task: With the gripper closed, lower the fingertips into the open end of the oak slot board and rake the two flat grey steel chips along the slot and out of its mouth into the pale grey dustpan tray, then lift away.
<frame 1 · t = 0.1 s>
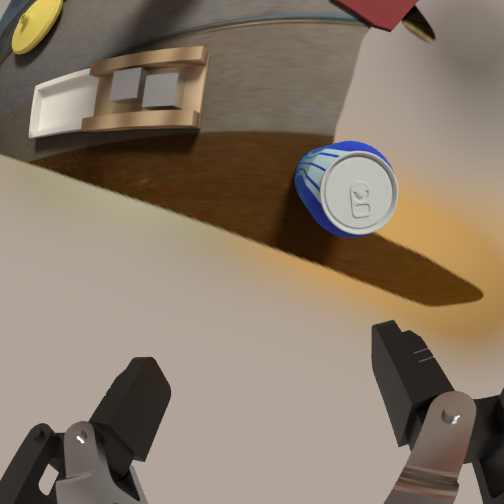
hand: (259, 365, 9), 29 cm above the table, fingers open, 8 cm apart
vase: (43, 25, 26), on the table
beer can: (324, 179, 35), on the table
tray: (67, 105, 33), on the table
slot board: (147, 93, 32), on the table
chip 2: (168, 94, 31), point 1 cm above the table, touching slot board
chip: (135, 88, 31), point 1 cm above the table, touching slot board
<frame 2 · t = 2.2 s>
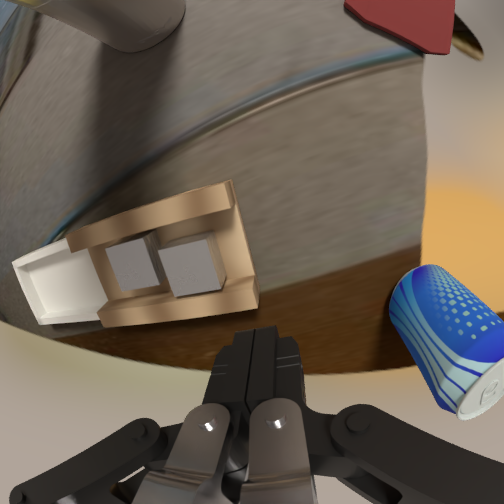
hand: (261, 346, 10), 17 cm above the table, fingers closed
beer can: (416, 293, 27), on the table
tray: (64, 278, 30), on the table
slot board: (164, 254, 27), on the table
chip 2: (198, 257, 26), point 1 cm above the table, touching slot board
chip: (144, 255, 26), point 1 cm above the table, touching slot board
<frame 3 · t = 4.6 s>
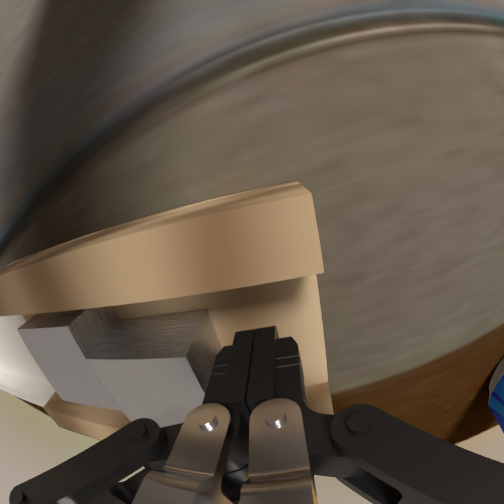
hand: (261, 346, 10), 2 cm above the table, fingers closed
tray: (5, 332, 15), on the table
slot board: (141, 331, 13), on the table
chip 2: (177, 355, 12), point 1 cm above the table, touching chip, gripper
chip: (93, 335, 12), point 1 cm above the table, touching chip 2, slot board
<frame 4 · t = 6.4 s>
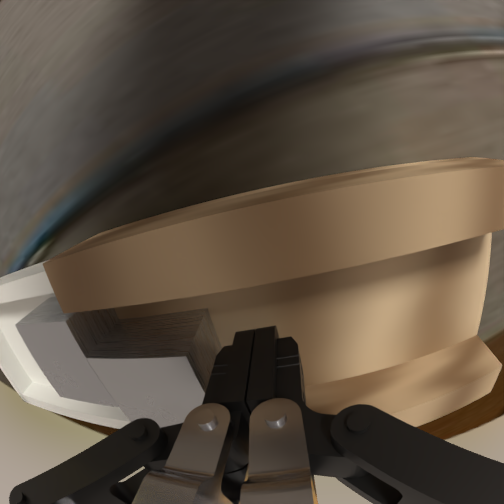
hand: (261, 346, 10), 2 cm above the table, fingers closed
tray: (56, 336, 14), on the table
slot board: (315, 309, 12), on the table
chip 2: (177, 355, 12), point 1 cm above the table, touching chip, gripper, slot board
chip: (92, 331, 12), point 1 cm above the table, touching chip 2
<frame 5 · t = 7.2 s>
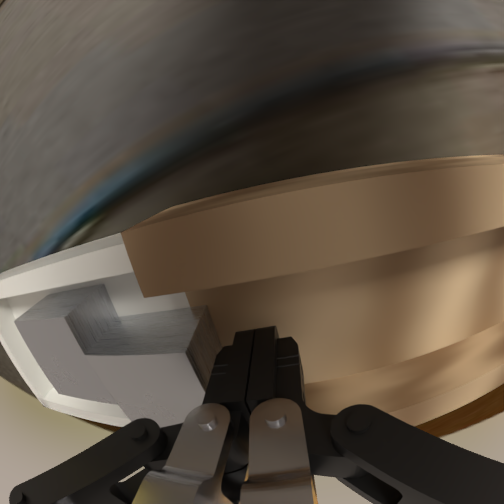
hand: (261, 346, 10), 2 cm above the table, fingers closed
tray: (91, 332, 13), on the table
slot board: (397, 288, 11), on the table
chip 2: (176, 352, 12), point 1 cm above the table, touching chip, gripper
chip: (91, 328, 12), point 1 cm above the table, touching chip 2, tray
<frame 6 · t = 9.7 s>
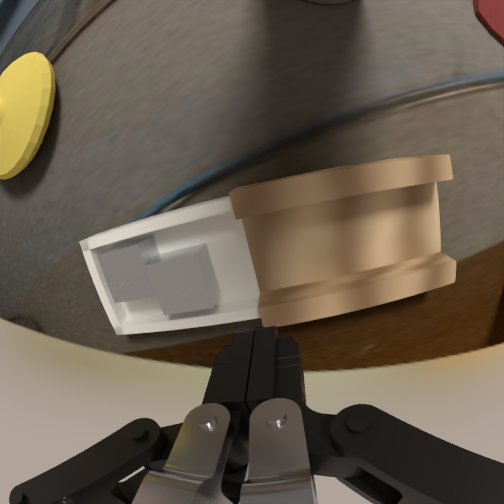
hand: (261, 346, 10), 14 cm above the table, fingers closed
vase: (27, 115, 21), on the table
tray: (173, 266, 25), on the table
slot board: (350, 229, 22), on the table
chip 2: (189, 272, 23), point 1 cm above the table, touching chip, tray
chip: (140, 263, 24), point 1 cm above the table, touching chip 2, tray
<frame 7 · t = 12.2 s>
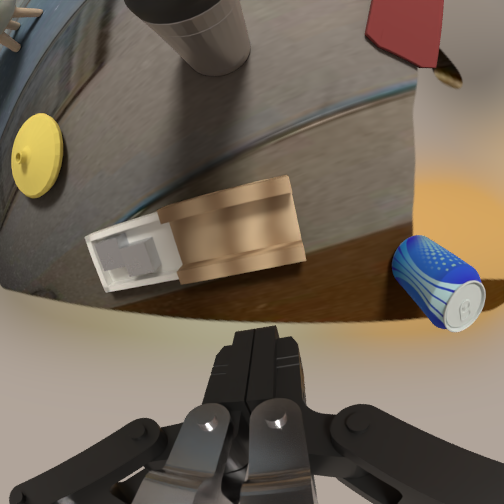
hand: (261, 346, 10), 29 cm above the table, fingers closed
planter: (26, 29, 27), on the table
vase: (44, 154, 37), on the table
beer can: (411, 258, 38), on the table
tray: (137, 250, 41), on the table
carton: (403, 6, 24), on the table
slot board: (234, 227, 39), on the table
chip 2: (144, 253, 40), point 1 cm above the table, touching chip, tray
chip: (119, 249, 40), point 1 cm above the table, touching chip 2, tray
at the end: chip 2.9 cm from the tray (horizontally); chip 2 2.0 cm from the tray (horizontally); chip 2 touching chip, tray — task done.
